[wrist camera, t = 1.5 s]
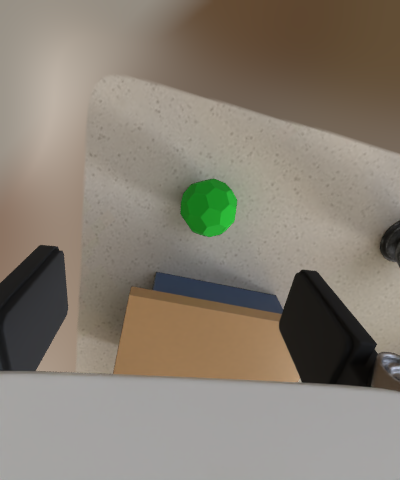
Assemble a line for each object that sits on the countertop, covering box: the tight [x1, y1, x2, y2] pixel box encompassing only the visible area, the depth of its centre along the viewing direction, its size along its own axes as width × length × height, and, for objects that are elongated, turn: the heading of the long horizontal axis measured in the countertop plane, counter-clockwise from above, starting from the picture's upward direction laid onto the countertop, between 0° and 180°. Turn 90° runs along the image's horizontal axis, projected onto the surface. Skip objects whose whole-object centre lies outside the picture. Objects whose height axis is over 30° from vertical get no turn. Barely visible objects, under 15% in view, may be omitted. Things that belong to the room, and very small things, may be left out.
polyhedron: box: [180, 179, 237, 237], centre depth 24 cm, size 5×5×5 cm
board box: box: [113, 272, 300, 382], centre depth 30 cm, size 18×16×7 cm
